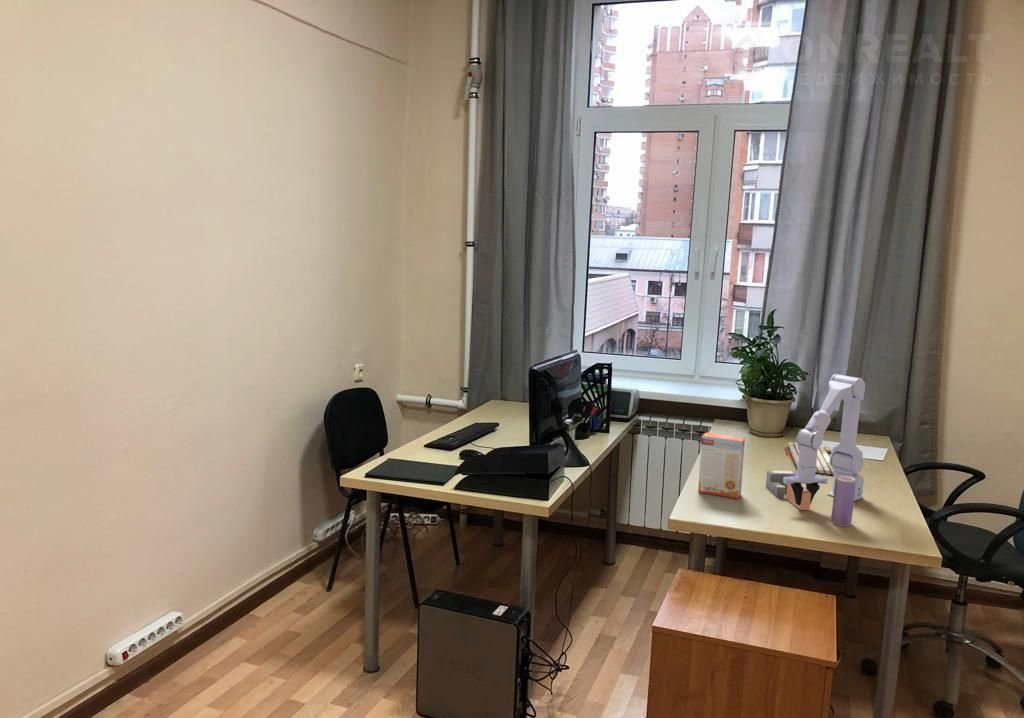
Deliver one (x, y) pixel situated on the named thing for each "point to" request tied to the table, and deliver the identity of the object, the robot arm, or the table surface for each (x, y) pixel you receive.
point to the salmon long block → (804, 498)
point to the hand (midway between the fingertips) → (803, 504)
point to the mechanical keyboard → (821, 463)
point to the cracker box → (721, 465)
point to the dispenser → (778, 482)
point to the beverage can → (843, 500)
